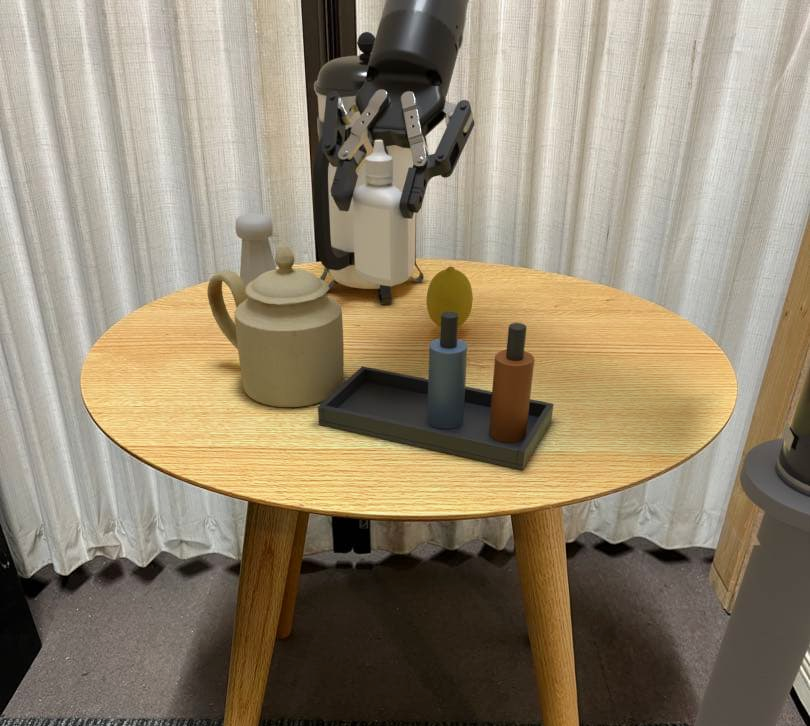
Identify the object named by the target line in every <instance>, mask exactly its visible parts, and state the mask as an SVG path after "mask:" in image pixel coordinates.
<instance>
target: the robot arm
mask: <svg viewBox="0 0 810 726" xmlns="http://www.w3.org/2000/svg"><path fill="white" fill-rule="evenodd" d="M469 1H470V0H385V1H384V2H385V3H384V4H383V5H384V6H383V8H382V9H383V10H382V12H381V17H380V20H379V24H378V28H377V31H376V35H375V42H374V45H373V49H372V52H371V56H370V60H369V63H368V68H367V74H366V80H365V83H364V85H363V86H362V87H361V89H360V90H359V91H358V92H357V94H356V96H349V97H340V96H339V94H338V92H336V91H331V92H329V93H328V94H327V96H326V104H325V114H324V125H323V135H322V149H323V151H324V153H325V155H326V156H327V158H328V160H329V162H330V164H331V165H332V166H333V167H337V169H336V172H335V176H334V180H333V183H332V187H331V196H332V197H333V199H334V201H335V203H336V205H337V207H338V209H339V210H340V211H349V208H350V204H351V201H352V197H353V193H354V190H355V186H356V182H357V179H358V175H357V172H358V171H359V169H360V168H361V166H362V165H363V164H364V162H365V158H366V157H367V156H369V155H371V154H372V153H373V149H374V142H375V140H383V145H384V146H392V145H397V146H399V147H402V148H411V153H412V159H413V163H414V164H413V168H410V167H409V169H408V172H407V176H406V180H405V184H404V188H403V191H402V195H401V199H400V203H399V209H400V211H401V213H402V216H403V218H409V219H412V218H413V214H414V213H416V214H418V213H419V212H420V211H421V209H422V206H423V202H424V199H425V194H426V191H427V187H428V183H429V182H430V181H431V179H432V178H435V177H438V176H441V178H444V179H446V178H449V177H451V176H452V175H453V172H454V170H455V168H456V167H457V164H458V161H459V160H460V158H461V155H462V153H463V151H464V149H465V146H466V144H467V143H468V140H469V138H470V135H471V133H472V130H473V129H474V127H475V123H476V122H475V118H474V113H473V110H472V106H471V103H470V101H469V100H467V99H461V100H460V101H458V102H457V103H453V102H450V101H449V102H448V101H447V96H448V93H449V89H450V85H451V82H452V78H453V75H454V70H455V66H456V63H457V58H458V55H459V51H460V49H461V48H462V44H463V39H464V32H465V27H466V20H467V12H468V11H467V10H468V6H469ZM357 111H359V112H360V115H361V116H360V117H359V118H358V120H357V121H356V122H355V124H354V125H353V127H352V128H351V134H350V136H349V138H348V139H347V141H346V142H345V143H344V139H345V128H346V125H349V124H350V121H351V118H352V115H353V114H354V113H355V112H357ZM443 121H444V122H445V125H446V128H445V130H444V132H443V133H442V134H443V135H442V136H441V139H440V141H439V142H438V144H437V147H436V150H435V152H434V153H432V154H430V151H429V146H428V145H429V144H428V141H427V136H428V135H429V134H430V133H431V132H432V131H433V130H434V129H436V127H437V126H438V125H440V124H441V123H442V122H443ZM368 133H369V135H370V137H369V138H368ZM781 436H782V438H784V443H783V445H782V448H781V451H780V453H779V455H778V458H777V461H776V464H775V471H776V473H777V475H778V477H779V478H780V479H781V480H782V481H783V482H784V483H785V484H786V485H787V486H789V487H790V488H792V489H794V490H795V491H797V492H799V493H801V494H803V495H806V496H808V497H810V363H809V364H808V367H807V370H806V372H805V376H804V378H803V382H802V385H801V389H800V390H799V394H798V398H797V400H796V404H795V406H794V409H793V413H792V416H791V419H790V422H789V424H788V421H786V422H785V425H784V428H783V430H782V434H781Z"/></svg>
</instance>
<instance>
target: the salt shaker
mask: <svg viewBox="0 0 810 726" xmlns="http://www.w3.org/2000/svg"><path fill="white" fill-rule="evenodd" d="M234 228H235V234H236V236H237V237H238V238H239V239H241V251H240V268H239V276H240V278H241V279H242V280H243V282H244V284H245V285H246V286H247V285H248V284H249V283H250V282H251V281H253V280H255V279H256V278H257V277H258V276H260V275H261V274H263V273H265V272H267V271H271V270H275V269H277V267H276V262H275V258H274V255H273V251H272V248H271V244H270V240H269V238H271V237H272V236H273V233H274V232H273V230H274V228H273V221H272V218H271V217H270V216H269V215H268V214H265V213H260V212H247V213H244V214H243V213H242V214H240V215H239V216H237V218H236V219H235V227H234Z"/></svg>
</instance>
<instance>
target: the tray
mask: <svg viewBox="0 0 810 726" xmlns="http://www.w3.org/2000/svg"><path fill="white" fill-rule="evenodd" d="M491 401H492V391H491V390H486V389H481V388H476V387H471V386H466V385H465V399H464V416H463V423H462V424H461V425H460V426H458V427H456V428H452V429H440V428H436V427H433V426H432V425H430V424H429V423H428V421H427V410H428V378H425V377H422V376H421V377H420V376H415V375H410V374H406V373H405V374H404V373H399V372H394V371H391V370H390V371H389V370H384V369H380V368H375V367H369V366H361V367H359V368H358V369H357V370H356V371H355V372H354V373H353V374H352V375H351V376H350V377H348V378H347V379H346V381H344V383H343V384H342V385H341V386H340V387H339V388H338V389H337V390H336V391H334V392H333V393H332V394H331V395H330V396H329V397H328V398H327V399H326V400H325V401H323V402H320V403H319V405H318V406H317V414H318V416H317V417H318V425H320V426H325V427H329V428H334V429H337V430H343V431H347V432H351V433H354V434H355V433H356V434H359V435H360V434H361V435H365V436H369V437H374V438H378V439H382V440H388V441H392V442H396V443H401V444H405V445H409V446H414V447H418V448H422V449H426V450H431V451H436V452H440V453H445V454H449V455H453V456H459V457H462V458H466V459H471V460H476V461H481V462H485V463H489V464H493V465H498V466H502V467H507V468H511V469H516V470H520V471H523V470H524V468H525V466H526V465H527V463H528V462H529V460H530V458H531V456H532V455H533V454H534V451H535V450H536V448H537V446H538V445H539V443H540V441H541V440H542V438H543V436H544V435H545V433H546V431H547V430H548V427H549V426H550V425H551V423H552V421H553V420H552V419H553V412H554V405H555V404H554V403H551V402H548V401H541V400H537V399H531V398H530V404H529V413H528V422H527V431H526V436H525V438H524V439H523V440H521V441H518V442H513V443H506V442H501V441H497V440H495V439H493V438H492V437H491V436H490V434H489V426H490V413H491Z"/></svg>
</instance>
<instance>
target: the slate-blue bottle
mask: <svg viewBox="0 0 810 726" xmlns="http://www.w3.org/2000/svg"><path fill="white" fill-rule="evenodd" d="M458 330H459V327H458V314H457V313H456V312H451V311H447V312H443V313H442V314H441V327H440V331H439V332H440V333H439V338H436V339H434V340H432V341H430V342H429V344H428V375H427V376H428V377H427V379H428V410H427V421H428V423H429V424H430V425H432V426H433V427H436V428H440V429H452V428H456V427H458V426H460V425H461V424H462V423H463V416H464V399H465V386H466V380H467V379H466V378H467V365H468V343H467V342H465V341H464V340H462V339H460V338H458V335H459V334H458V333H459V332H458Z"/></svg>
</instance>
